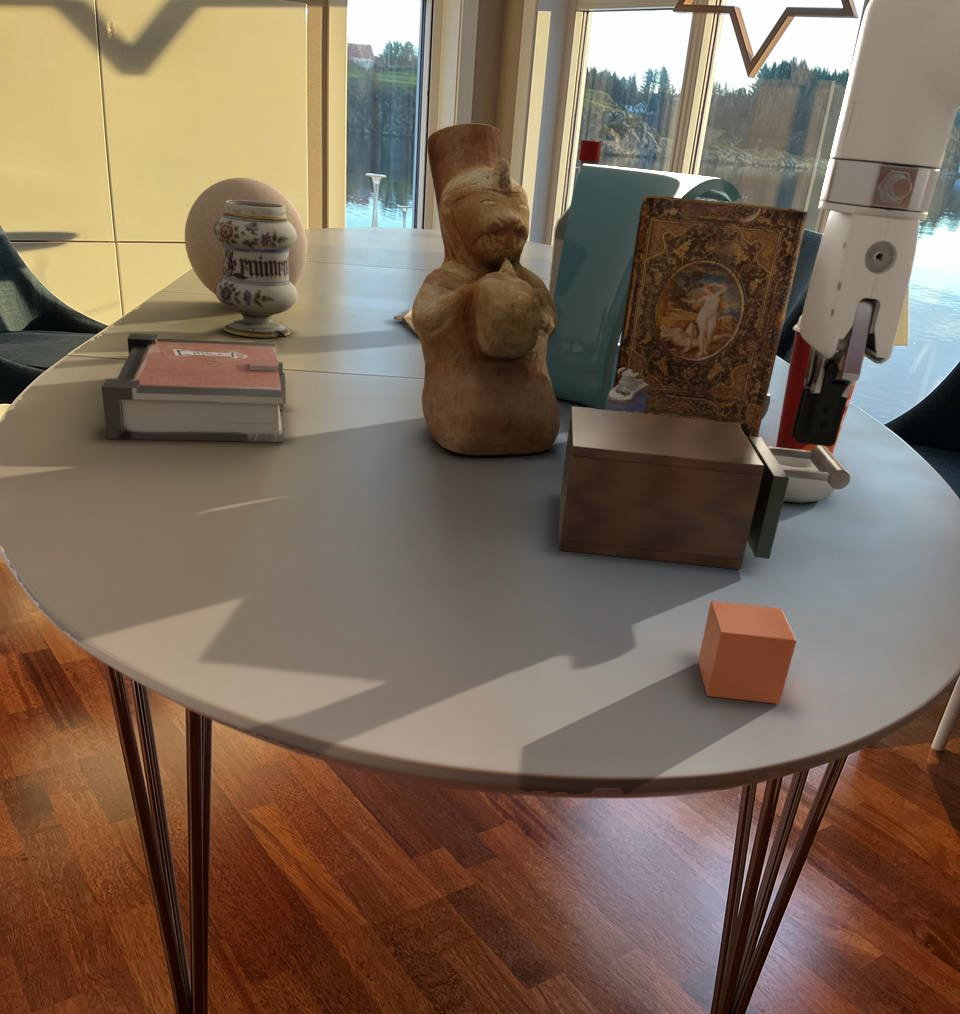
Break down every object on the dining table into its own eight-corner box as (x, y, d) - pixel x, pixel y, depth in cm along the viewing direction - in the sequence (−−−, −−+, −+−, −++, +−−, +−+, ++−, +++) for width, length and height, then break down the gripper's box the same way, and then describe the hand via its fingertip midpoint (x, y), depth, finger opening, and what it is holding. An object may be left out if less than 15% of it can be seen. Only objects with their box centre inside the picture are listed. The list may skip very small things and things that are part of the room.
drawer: (804, 517, 85) (824, 438, 82) (836, 566, 75) (860, 479, 72) (597, 495, 86) (608, 416, 82) (601, 541, 76) (614, 454, 72)
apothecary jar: (260, 343, 137) (257, 207, 128) (199, 329, 141) (192, 198, 133) (313, 333, 146) (313, 206, 138) (254, 321, 151) (251, 198, 143)
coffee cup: (825, 474, 101) (863, 329, 94) (753, 455, 105) (784, 315, 98) (850, 459, 107) (887, 322, 100) (781, 442, 111) (812, 310, 104)
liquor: (545, 325, 171) (566, 138, 157) (544, 316, 179) (563, 138, 165) (595, 329, 171) (620, 143, 157) (592, 321, 179) (615, 143, 165)
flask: (615, 494, 89) (633, 380, 84) (586, 488, 90) (601, 375, 85) (637, 469, 97) (654, 363, 92) (610, 464, 98) (625, 359, 93)
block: (765, 668, 61) (781, 607, 59) (779, 704, 57) (797, 640, 55) (697, 661, 61) (710, 600, 59) (706, 696, 57) (721, 632, 55)
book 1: (290, 442, 95) (289, 392, 93) (107, 438, 91) (101, 386, 89) (281, 380, 118) (280, 339, 115) (134, 375, 114) (130, 333, 112)
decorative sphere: (325, 315, 161) (326, 186, 152) (210, 317, 151) (203, 179, 142) (282, 295, 176) (280, 176, 166) (174, 296, 166) (165, 169, 156)
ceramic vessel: (440, 464, 93) (461, 118, 79) (377, 407, 110) (385, 115, 96) (581, 458, 99) (625, 134, 85) (500, 404, 116) (525, 129, 102)
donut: (734, 469, 100) (726, 495, 92) (741, 437, 99) (733, 460, 90) (831, 486, 98) (833, 514, 89) (840, 454, 96) (842, 479, 88)
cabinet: (718, 515, 86) (737, 422, 82) (740, 569, 75) (764, 465, 71) (559, 498, 87) (571, 405, 83) (558, 550, 76) (572, 445, 72)
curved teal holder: (574, 370, 137) (590, 157, 123) (772, 391, 130) (813, 168, 116) (526, 422, 115) (539, 171, 101) (760, 451, 108) (809, 186, 94)
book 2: (750, 449, 107) (803, 209, 96) (755, 463, 102) (812, 212, 91) (606, 432, 109) (641, 194, 97) (605, 445, 104) (642, 196, 92)
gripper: (968, 203, 61) (886, 475, 70) (896, 193, 74) (835, 423, 83) (852, 192, 61) (784, 464, 70) (801, 184, 74) (749, 413, 83)
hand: (812, 441), depth 76 cm, fingers closed
